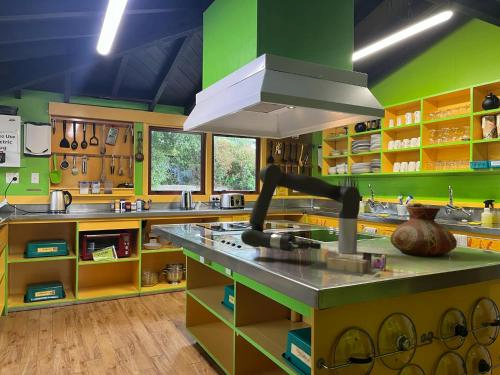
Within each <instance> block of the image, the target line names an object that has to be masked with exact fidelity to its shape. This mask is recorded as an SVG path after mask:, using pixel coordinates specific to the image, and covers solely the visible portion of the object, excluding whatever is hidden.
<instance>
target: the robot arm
mask: <svg viewBox="0 0 500 375" xmlns="http://www.w3.org/2000/svg"><path fill="white" fill-rule="evenodd" d="M258 178H259V181H260V182H261V183H262V186H261V190H260V191H259V194H258V197H257V198H256V200H255V203H254V205H253V208H252V210H251V212H250V216H249V220H248V221H249V222H248V223H249V224H250V225H251V229H246V230H244V231H242V233H241V235H240V240H241V241H242V243H243V244H244V245H246V246H249V247H251V248H257V247H262V248H265V249H272V250H276V251H280V252H281V251H282V252H289V253H290V252H291V253H292V252H293V251H295V250H308V249H309V250H310V249H317V250H320V249H321V248H322V246H321V243H320V242H314V241H313V240H310V239H306V238H305V239H303V238H296V236H295V235H294V233H293V234H292V233H284V232H283V233H282V232H267V231H264V229H265V228H264V224H265V221H266V218H267V216H268V215H267V214H268V211H269V208H270V204H271V202H272V199H273V196H274V193H275V192H276V189H277V187H279V188H285V189H288V190H291V191H294V192H297V193H301V194H304V195H308V196H313V197H316V198H317V197H318V198H325V199H330V200H331V201H335V202H337V203H340V204H342V208H341V210H340V211H339V212H338V234H337V235H338V236H337V237H338V239H337V240H338V242H337V247H338V248H337V250H338V253H341V254H347V255H348V254H349V255H351V254H353V255H354V254H357V253H358V216H359V214H360V209H361V208H360V205H361V193H360V190H359V189H358V188H357V187H356V186H350V185H346V186H345V185H337V184H331V183H328V182H327V181H325V180H323V179H321V178H319V177H315V176H311V175H309V174H302V173H289V172H284V171H282V168H281V167H280V166H279V165H277V164H275V163H273V164H272V163H271V164H268V165H266V166H264V167H263V168H261V169H260V170H259V172H258Z"/></svg>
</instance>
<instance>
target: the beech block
mask: <svg viewBox="0 0 500 375" xmlns="http://www.w3.org/2000/svg"><path fill="white" fill-rule="evenodd" d="M326 259H327V260H326V262H327V268H329V269H336V270H343V271H350V272H356V273H363V274H365V273H367V272H368V273H370V272H371V271H370V261H369V260H363V259H361V258H354V257H343V256H336V255H332V256H330V257H327V258H326ZM369 271H370V272H369ZM368 273H367V274H368ZM365 275H366V274H365Z"/></svg>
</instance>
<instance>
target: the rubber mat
mask: <svg viewBox="0 0 500 375" xmlns="http://www.w3.org/2000/svg"><path fill="white" fill-rule="evenodd" d="M303 269H307V270H308V269H309V270H316V271H323V272H329V273H335V274H342V275H348V276H355V277H363V276H365V275H368V274H369V273H370V272H372V271H373V270H374V268H372V267H371V268H370V271H369V272H367V273H365V274H363V273H356V272H350V271H343V270H336V269H329V268H327V261H322V260H321V261H316V262H314V263H311V264H309V265H307V266H303Z"/></svg>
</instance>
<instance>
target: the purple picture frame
mask: <svg viewBox="0 0 500 375" xmlns="http://www.w3.org/2000/svg"><path fill="white" fill-rule="evenodd" d="M362 254H363V255H362V260H369V261H370V268H372V267H374V269H375V268H376V269H377V268H380V269H379V270H378V271H379V272H386V264H387V254H386V253H385V254H384V253H374V252H365V251H364V252H363V253H362ZM372 255H373V256H374V257H375V259H373V262H372V258H373V257H372ZM371 266H372V267H371Z"/></svg>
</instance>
